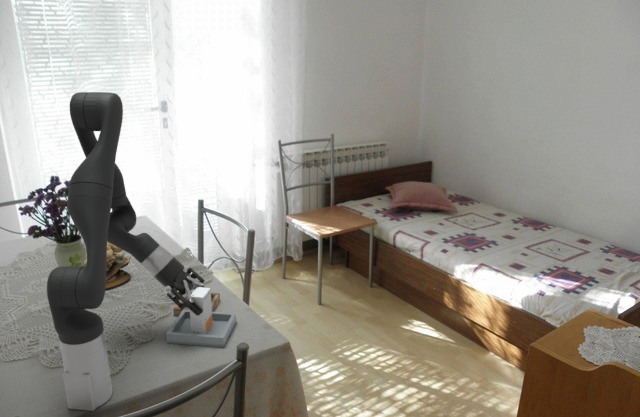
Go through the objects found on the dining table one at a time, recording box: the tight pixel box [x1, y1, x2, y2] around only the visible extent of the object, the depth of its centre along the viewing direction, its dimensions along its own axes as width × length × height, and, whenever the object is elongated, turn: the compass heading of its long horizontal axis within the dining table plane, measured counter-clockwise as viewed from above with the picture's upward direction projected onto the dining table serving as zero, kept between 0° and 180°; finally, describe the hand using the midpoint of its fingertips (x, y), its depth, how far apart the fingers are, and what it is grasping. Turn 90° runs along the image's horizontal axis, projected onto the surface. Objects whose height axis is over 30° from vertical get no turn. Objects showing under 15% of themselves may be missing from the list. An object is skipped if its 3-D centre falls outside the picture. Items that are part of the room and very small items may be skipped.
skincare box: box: [190, 286, 212, 335], centre depth 147 cm, size 6×4×12 cm
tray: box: [166, 310, 237, 348], centre depth 148 cm, size 13×16×3 cm
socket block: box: [172, 290, 221, 317], centre depth 161 cm, size 11×11×2 cm
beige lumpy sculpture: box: [83, 242, 132, 292], centre depth 174 cm, size 18×12×17 cm, turn 129°
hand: (205, 305), depth 146 cm, fingers open, 8 cm apart
